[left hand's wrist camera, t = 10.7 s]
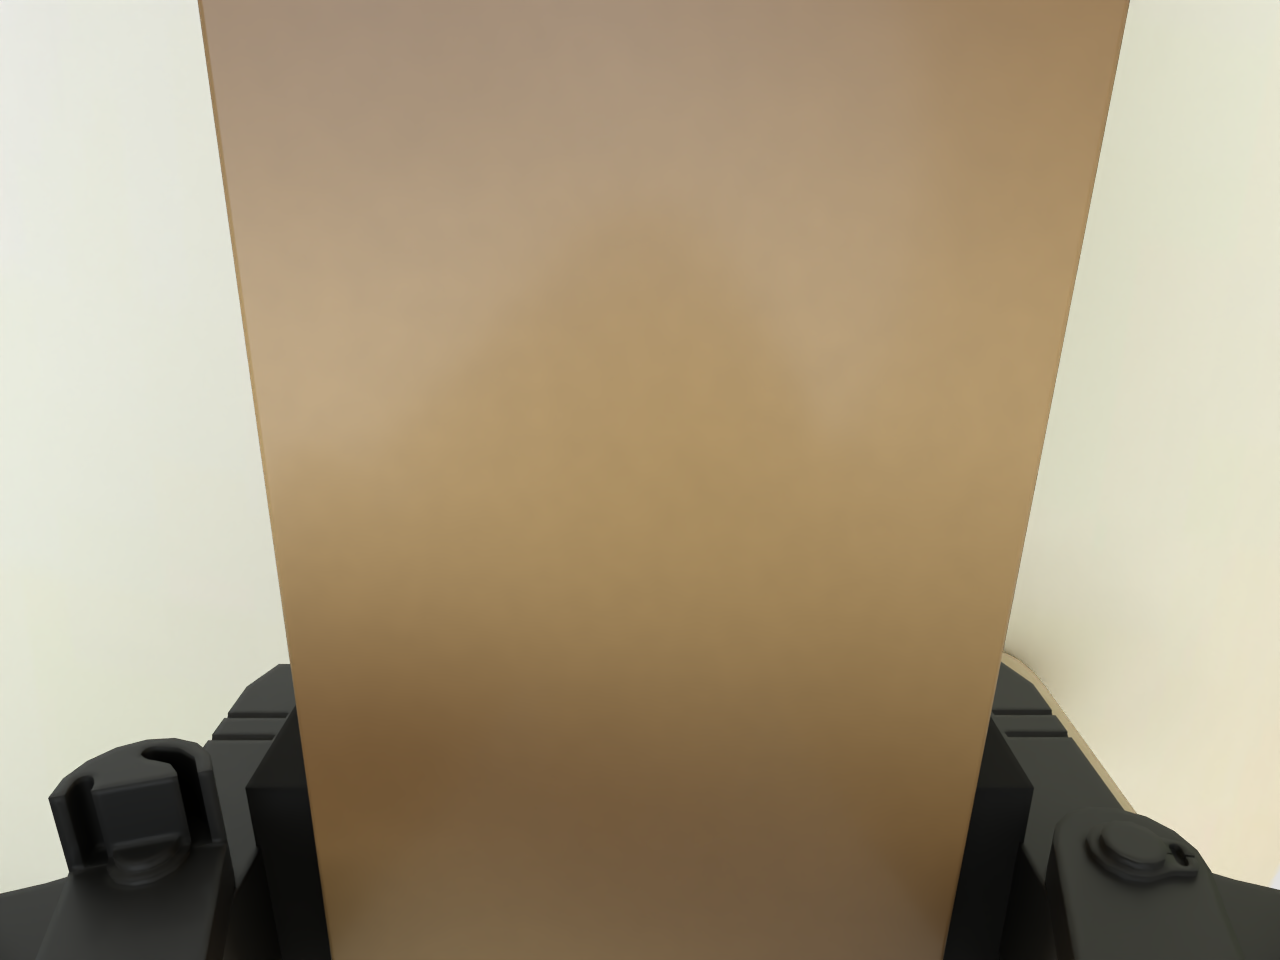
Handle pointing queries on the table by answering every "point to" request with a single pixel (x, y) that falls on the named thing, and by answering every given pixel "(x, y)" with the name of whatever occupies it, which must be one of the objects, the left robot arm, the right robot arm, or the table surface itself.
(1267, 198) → the table surface
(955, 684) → the beam
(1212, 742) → the table surface
